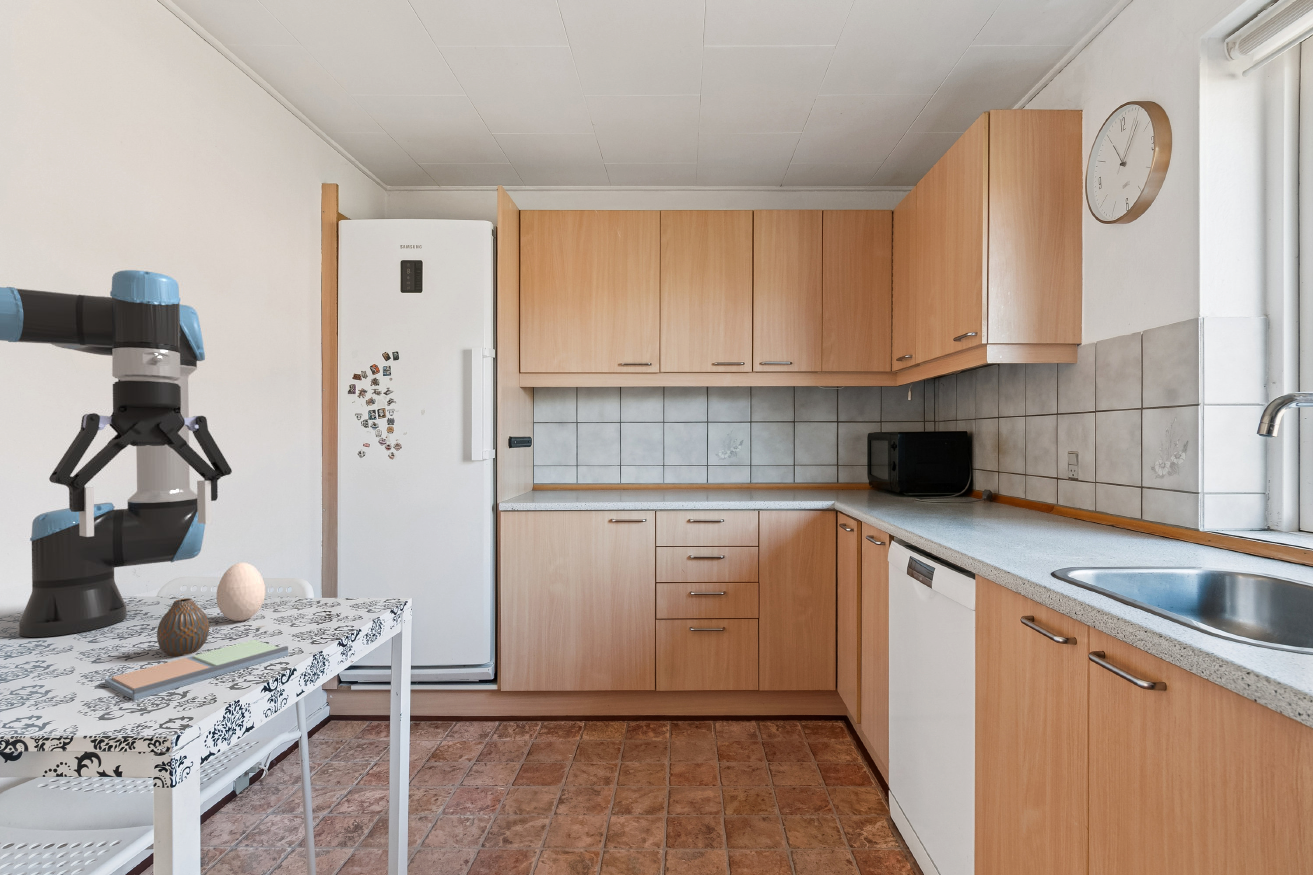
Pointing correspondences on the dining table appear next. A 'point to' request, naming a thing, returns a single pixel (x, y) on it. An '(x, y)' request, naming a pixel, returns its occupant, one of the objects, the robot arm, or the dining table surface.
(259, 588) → the egg
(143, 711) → the dining table surface
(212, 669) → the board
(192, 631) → the vase
